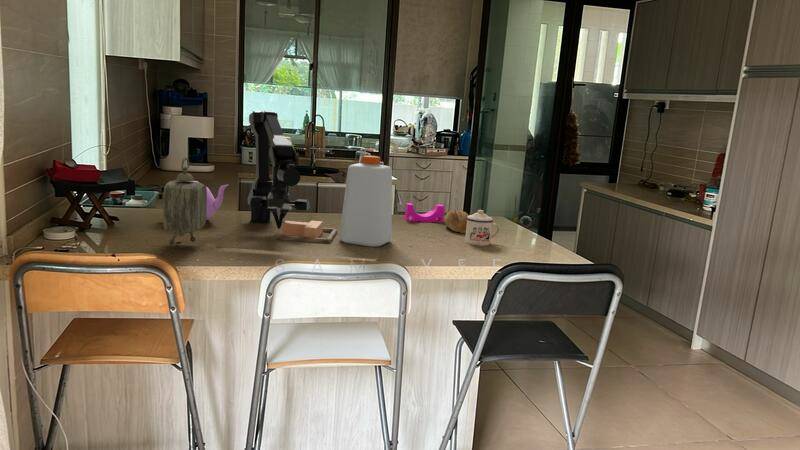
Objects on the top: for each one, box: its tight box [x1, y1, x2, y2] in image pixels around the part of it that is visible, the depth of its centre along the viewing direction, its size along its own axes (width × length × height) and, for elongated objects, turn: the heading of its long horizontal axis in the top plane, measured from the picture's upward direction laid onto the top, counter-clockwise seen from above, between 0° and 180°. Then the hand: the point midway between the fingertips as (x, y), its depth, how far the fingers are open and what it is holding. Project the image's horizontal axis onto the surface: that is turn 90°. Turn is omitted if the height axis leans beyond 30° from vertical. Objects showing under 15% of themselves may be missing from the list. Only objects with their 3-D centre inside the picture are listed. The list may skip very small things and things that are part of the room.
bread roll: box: [443, 209, 470, 234], centre depth 226 cm, size 10×15×8 cm, turn 13°
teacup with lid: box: [464, 209, 501, 247], centre depth 207 cm, size 12×9×12 cm
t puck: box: [281, 220, 324, 238], centre depth 199 cm, size 12×12×4 cm
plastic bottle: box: [339, 155, 393, 248], centre depth 195 cm, size 15×15×28 cm
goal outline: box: [275, 227, 338, 244], centre depth 199 cm, size 17×18×1 cm
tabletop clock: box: [162, 157, 207, 246], centre depth 176 cm, size 14×9×25 cm, turn 5°
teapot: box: [190, 180, 229, 221], centre depth 210 cm, size 22×16×14 cm
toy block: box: [404, 202, 446, 223], centre depth 241 cm, size 15×6×8 cm, turn 101°
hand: (279, 228), depth 199 cm, fingers closed
